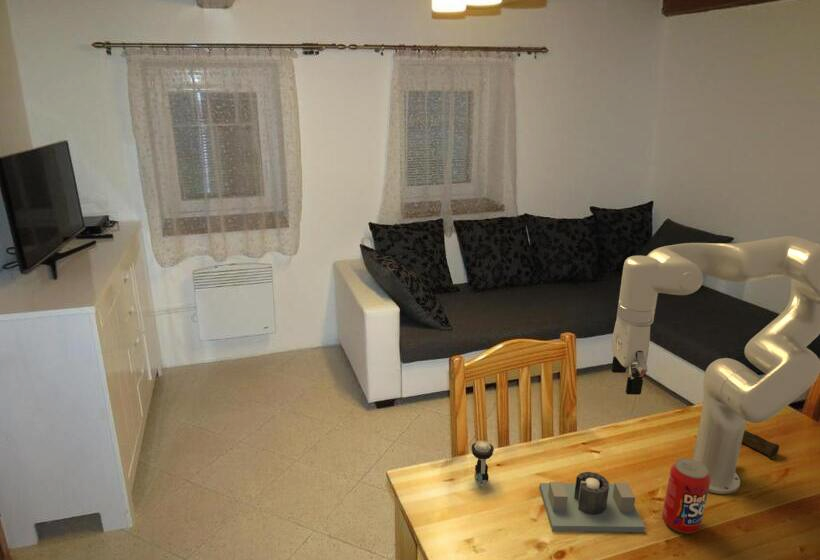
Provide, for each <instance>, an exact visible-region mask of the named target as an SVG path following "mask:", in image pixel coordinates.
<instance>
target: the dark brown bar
mask: <svg viewBox="0 0 820 560" xmlns="http://www.w3.org/2000/svg"><path fill="white" fill-rule="evenodd" d="M742 444H744V445H746V446H748V447H751V448H752V449H754V450H755V451H758V452H759V453H761V454H764V455H766V456H767V457H768V456H769V457H768V459H769V458H772V457H774V456H775V457H776V456H777V454H778V453H779V449H780V445H779V444H778V443H774V442H771V441H768V440H766V439H765V438H762V436H759V435H758V434H755V433H752V432H750V431H747V429H745V431H744V435H743V440H742ZM775 457H774V458H775ZM772 459H773V458H772Z"/></svg>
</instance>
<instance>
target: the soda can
mask: <svg viewBox="0 0 820 560" xmlns="http://www.w3.org/2000/svg"><path fill="white" fill-rule="evenodd" d="M710 480H711V479H710V475H709V474H708V469H707V467H706V466H705V465H704V464H702V463H701V462H699V461H696V460H693V459H692V458H688V457H682V458H679V459H676V461H675V463H674V464H672V465H671V467H670V472H669V476H668V482H667V487H666V491H665V497H664V502H663V507H662V513H661V515H662V516H661V517H662V519H663V521H664V522H665V524H666V525H667V526H668V527H670V528H671V529H673V530H674V531H676V532H680V533H683V534H694V533H697V532H698V531H699V530H700V528H701V527H702V522H703V517H704V512H705V508H706V503H707V499H708V494H709V491H708V490H709V486H710Z"/></svg>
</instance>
